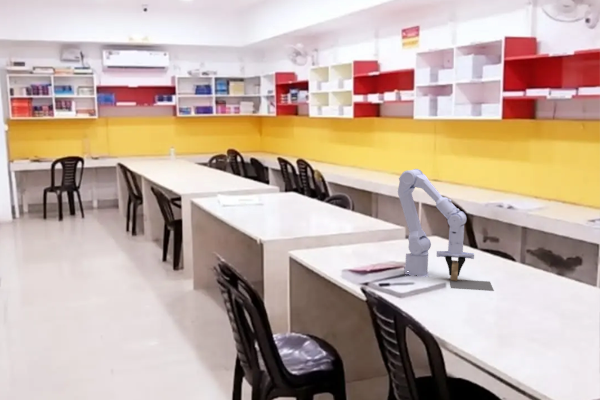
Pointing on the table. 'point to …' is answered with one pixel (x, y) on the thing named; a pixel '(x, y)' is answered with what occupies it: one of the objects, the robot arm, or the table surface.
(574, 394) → the table surface
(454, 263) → the block
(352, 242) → the table surface
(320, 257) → the table surface
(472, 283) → the mat
